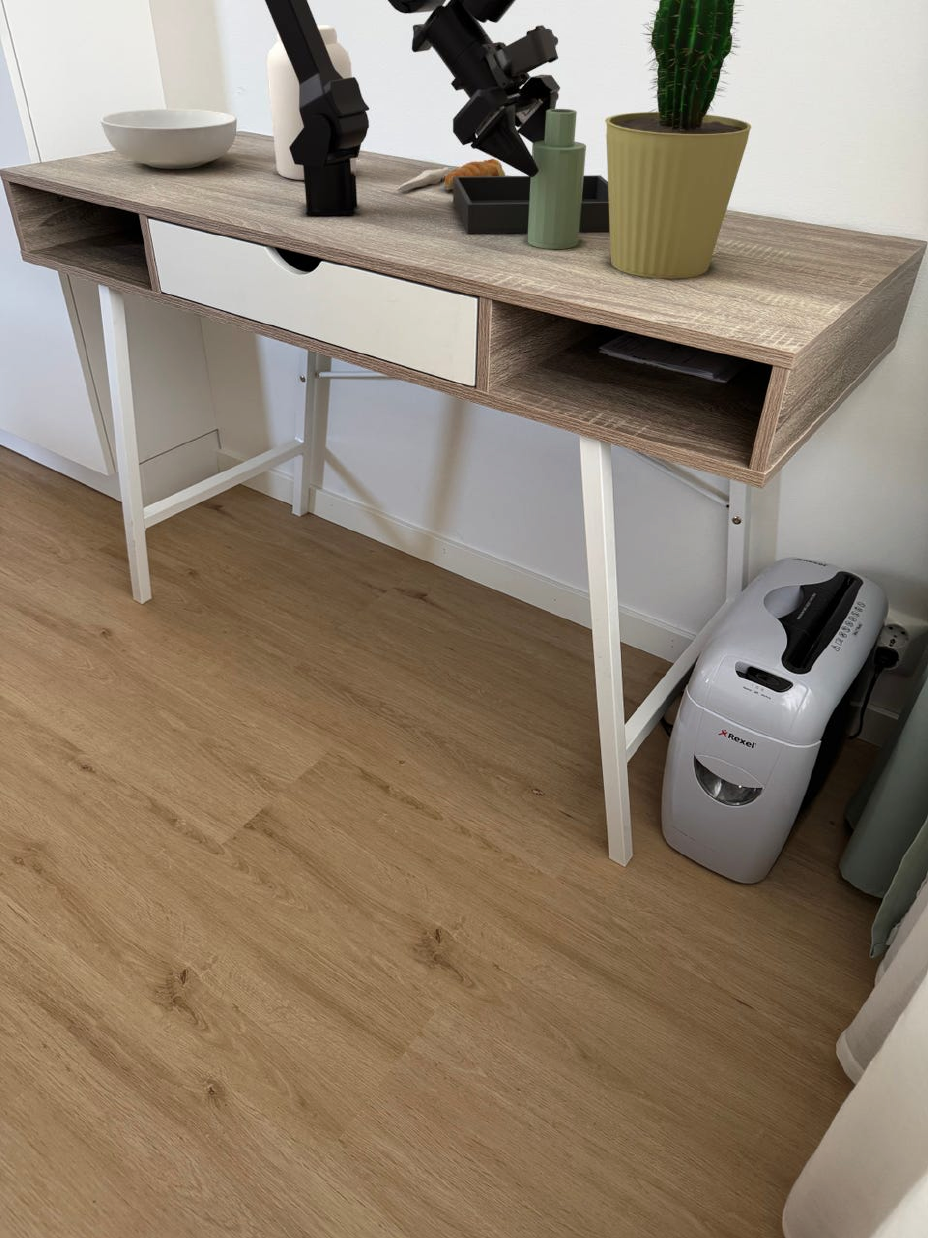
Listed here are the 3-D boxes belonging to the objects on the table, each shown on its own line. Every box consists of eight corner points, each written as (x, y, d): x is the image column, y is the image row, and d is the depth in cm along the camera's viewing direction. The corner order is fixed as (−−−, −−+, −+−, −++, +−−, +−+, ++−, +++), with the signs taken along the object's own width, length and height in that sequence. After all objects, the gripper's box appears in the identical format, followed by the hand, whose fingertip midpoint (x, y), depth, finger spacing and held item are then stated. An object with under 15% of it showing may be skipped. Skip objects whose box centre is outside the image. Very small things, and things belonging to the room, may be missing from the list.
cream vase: (280, 183, 141) (265, 27, 129) (274, 167, 151) (260, 21, 139) (362, 180, 143) (355, 27, 131) (351, 165, 153) (343, 21, 141)
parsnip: (440, 176, 147) (440, 163, 146) (454, 178, 146) (454, 165, 145) (390, 194, 137) (389, 180, 135) (405, 196, 136) (405, 182, 134)
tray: (467, 233, 118) (467, 204, 116) (453, 203, 132) (453, 176, 130) (629, 231, 120) (632, 202, 118) (598, 201, 134) (600, 175, 132)
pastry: (461, 196, 135) (461, 168, 133) (433, 189, 139) (433, 161, 137) (510, 188, 140) (511, 161, 138) (481, 181, 144) (482, 154, 142)
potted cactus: (591, 244, 115) (618, -56, 97) (717, 249, 113) (768, -53, 96) (592, 280, 102) (624, -56, 84) (734, 286, 101) (796, -53, 83)
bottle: (532, 249, 112) (540, 114, 104) (523, 236, 117) (530, 106, 109) (582, 248, 113) (593, 114, 104) (571, 235, 118) (582, 106, 109)
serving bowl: (226, 178, 143) (220, 128, 139) (91, 175, 143) (81, 125, 139) (252, 153, 160) (247, 108, 156) (132, 151, 160) (124, 106, 156)
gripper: (479, 0, 96) (569, 128, 98) (549, -5, 109) (628, 107, 112) (414, 83, 103) (500, 200, 106) (488, 68, 117) (562, 172, 119)
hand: (551, 167), depth 110 cm, fingers open, 9 cm apart
